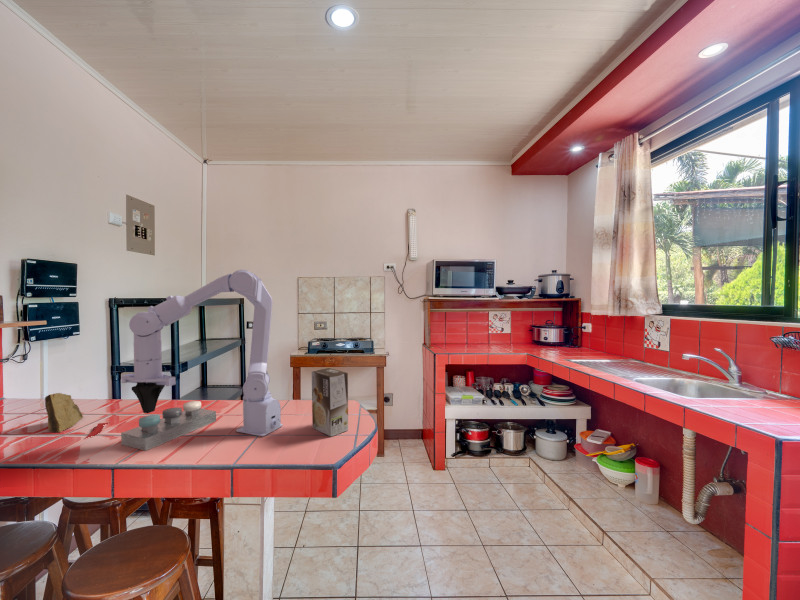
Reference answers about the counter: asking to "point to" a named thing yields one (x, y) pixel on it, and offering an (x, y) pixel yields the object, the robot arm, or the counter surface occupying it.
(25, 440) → the counter surface
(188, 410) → the button ivory
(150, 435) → the panel
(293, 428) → the counter surface
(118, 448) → the counter surface
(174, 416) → the button charcoal
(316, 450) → the counter surface
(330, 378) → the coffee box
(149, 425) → the button teal
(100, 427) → the cayenne pepper
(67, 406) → the rock
